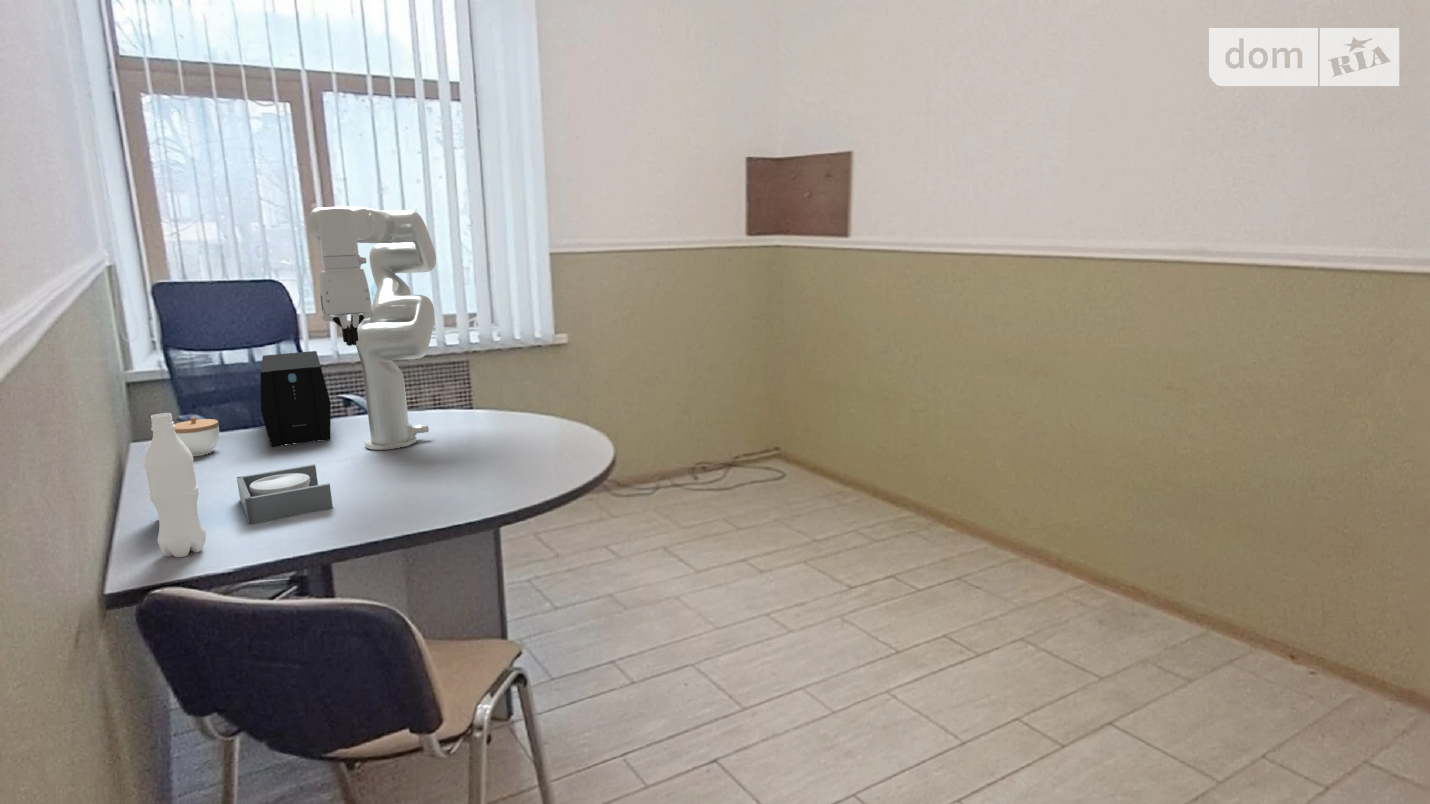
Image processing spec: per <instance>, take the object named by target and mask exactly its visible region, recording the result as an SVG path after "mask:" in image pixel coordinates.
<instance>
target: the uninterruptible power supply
mask: <svg viewBox="0 0 1430 804" xmlns="http://www.w3.org/2000/svg"><path fill="white" fill-rule="evenodd" d="M260 367H261V368H260V413H261V415H262V419H263V423H264V427H265V430H266V434H267V436H268V441H269V444H270V448H271V447H272V448H279V446H280V447H282V446H281V445H283V446H286V445H285V444H291V445H294V444H293V443H299V444H305V443H306V442H307V443H312V442H313V441H315V442H319V441H318V440H327V441H331V421H332V419H331V413H332V411H331V408H332V407H331V404H332V403H331V399H330V395H329V391H328V387H327V385H326V382H325V381H326V380H325V376H324V373H323V370H322V366H321V363H320V359H319V355H318V351H317V350H311V351H310V350H309V351H300V352H289V353H288V352H287V353H278V354H277V353H276V354H266V355H265V354H264V355H262V360H261V366H260ZM313 443H314V442H313Z"/></svg>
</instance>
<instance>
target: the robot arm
mask: <svg viewBox="0 0 1430 804" xmlns="http://www.w3.org/2000/svg"><path fill="white" fill-rule="evenodd" d="M307 225H308V229H309V232H310V233H311V236H313V238H315V240H317V241H319V242H320V248H321V256H322V257H321V258H322V265H323V270H319V297H320V308H321V312H322V317H321V319H322V320H323V321H325V322H332V323H335V325H337V326H338V327H340V328H341V333H342V339H343V343H346V344H345V345H346V346H348V347H352V346H355V348H356V351H357V354H358V356H359V360H360V364H361V370H362V376H363V382H364V391H365V400H366V410H367V417H368V425H369V435H370V438H369V439H367V440H366V441H365V442H364V446H365V448H366V449H369V450H374V451H375V450H376V451H384V450H386V451H387V450H395V448H396V449H401V448H400V447H402V448H404V447H409V446H411V444H412V445H414V444H415V443H417V439H418V438H417V435H418V434H424V433H425V434H426V433H429V431H430V430H429V425H427V424H424V425H421V424H417V425H412V424H410V422H409V413H408V404H407V395H406V394H407V393H406V386H405V384H406V383H405V378H404V375H403V374H404V373H403V372H402V371H401V369H400V367H399V366H398V365H397V364H396V363H395V362H394V361H398V360H415V359H416V360H417V359H421V358H424V357H425V356H426V355H427V353H428V352H429V351H428V350H429V347H430V342H431V338H432V335H433V329H434V325H435V320H436V319H435V307H434V304H433V301H432V300H431V299H430V298H429V297H428V296H426V295H422V294H412V292H411V289H410V287H409V285H408V284H407V283H406V282H405V281H404V280H403V279H402V278H401V277H399V275H396V274H409V273H410V274H412V273H413V274H415V273H416V274H417V273H419V274H420V273H428V272H430V271H433V270H434V268H435V267H436V265H437V255H436V250H435V247H434V244H433V242H432V239H431V236H430V233H429V231H428V228H427V226H426V223H425V221H424V219H423V218H422V216H421V215H420V214H419V213H418V212H417V211H415V210H414V209H413V210H411V209H406V210H405V209H403V210H402V209H401V210H381V209H374V208H369V207H363V206H328V207H326V206H325V207H316V208H313V209H312V210H311V211H310V213H309V215H308V218H307ZM358 244H375V245H374V246H372V247H371V249H370V250H369V255H368V256H369V265H370V270H371V273H372V276H373V280H374V283H375V286H376V292H375V295H374V297H373V298H374V299H373V302H372V299H371V293H370V288H369V284H368V281H367V280H368V279H367V276H366V273H365V270H364V268H361V267H362V265H363V264H367V257H361V255H360V253H359V247H358V246H359V245H358ZM348 315H350V323H349V325H348V322H347V319H346V316H348ZM366 319H369V321H370V322H369V323H365V324H363V325H361V323H362V322H363V321H364V320H366ZM360 325H361V326H360ZM359 326H360V327H359ZM358 327H359V328H358ZM413 443H414V444H413Z"/></svg>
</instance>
